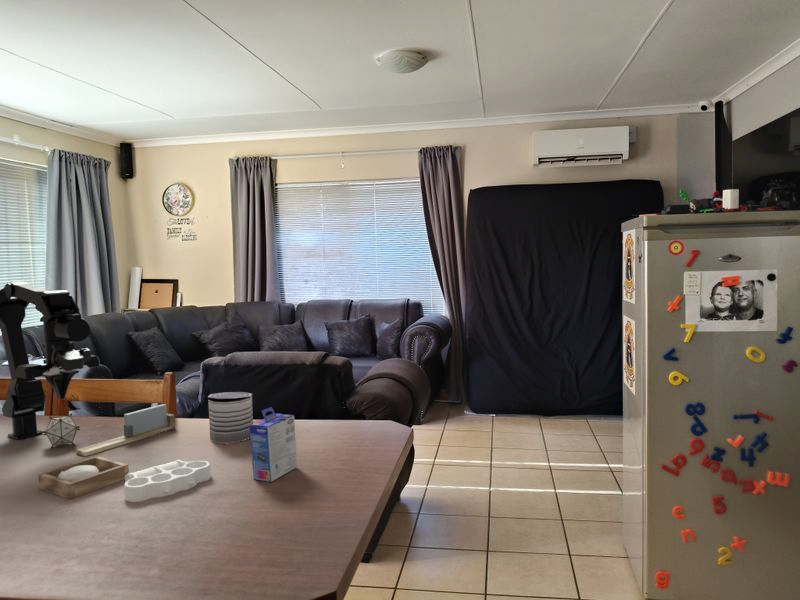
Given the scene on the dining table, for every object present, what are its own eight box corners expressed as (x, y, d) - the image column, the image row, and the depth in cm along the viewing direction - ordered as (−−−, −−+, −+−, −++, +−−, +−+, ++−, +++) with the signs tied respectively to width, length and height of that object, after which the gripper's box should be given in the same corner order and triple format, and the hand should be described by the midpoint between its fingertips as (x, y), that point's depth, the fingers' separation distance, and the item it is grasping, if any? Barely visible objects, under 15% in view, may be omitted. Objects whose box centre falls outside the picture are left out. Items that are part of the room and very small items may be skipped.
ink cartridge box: (278, 464, 136) (275, 402, 135) (298, 467, 133) (296, 404, 132) (250, 479, 127) (247, 413, 126) (271, 483, 124) (268, 416, 123)
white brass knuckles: (189, 467, 136) (222, 482, 126) (109, 490, 123) (138, 510, 113) (189, 453, 136) (221, 467, 126) (108, 475, 123) (137, 493, 113)
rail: (76, 453, 147) (75, 438, 146) (166, 426, 169) (165, 412, 168) (85, 456, 144) (84, 440, 144) (175, 428, 167) (174, 414, 166)
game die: (67, 460, 153) (64, 437, 147) (36, 450, 153) (32, 425, 147) (88, 435, 160) (86, 411, 154) (58, 424, 160) (56, 400, 154)
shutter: (124, 436, 157) (122, 414, 156) (163, 424, 167) (162, 403, 166) (129, 437, 155) (128, 415, 155) (168, 425, 166) (167, 404, 165)
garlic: (56, 493, 122) (54, 476, 122) (59, 482, 128) (58, 465, 128) (99, 486, 125) (98, 469, 125) (100, 476, 131) (99, 459, 131)
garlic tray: (39, 488, 125) (38, 474, 125) (97, 468, 136) (96, 455, 136) (70, 499, 118) (69, 484, 118) (129, 477, 129) (128, 464, 129)
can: (200, 440, 155) (198, 395, 154) (233, 428, 165) (231, 386, 164) (230, 446, 149) (228, 400, 148) (263, 434, 159) (261, 391, 158)
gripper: (35, 346, 139) (40, 411, 140) (110, 336, 155) (113, 394, 156) (12, 343, 145) (16, 405, 146) (86, 334, 160) (89, 390, 162)
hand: (61, 398), depth 152 cm, fingers closed
